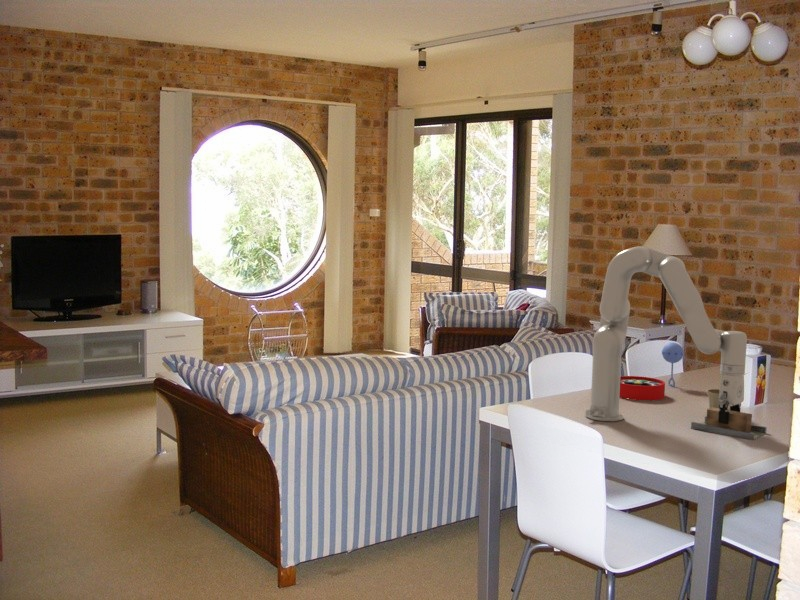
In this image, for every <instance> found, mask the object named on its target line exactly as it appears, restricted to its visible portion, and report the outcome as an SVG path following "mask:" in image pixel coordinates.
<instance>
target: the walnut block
mask: <svg viewBox="0 0 800 600" xmlns="http://www.w3.org/2000/svg"><path fill="white" fill-rule="evenodd" d="M728 412H729V424H722V423H719V422H718V418H719V408H714V407H712V408H710V409H709V408H708V409H706V416H707V420H706V424H708V425H713V426H719V427H724V428H730V429H735V430H740V431H746V432H751V424H752V421H753V419H752V418H753V413H747V412H743V411H740V412H737V411H731V410H729V411H728Z"/></svg>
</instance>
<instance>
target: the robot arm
mask: <svg viewBox="0 0 800 600" xmlns="http://www.w3.org/2000/svg"><path fill="white" fill-rule="evenodd" d="M640 272H641V273H643V274H646V275H649V276H653V277H656V278H659V279H660V280H661V282H662V285H663V286H664V288H665V289H666V291H667V293H668V295H669V297H670V299H671V302H672V303H673V305H674V307H675V308H676V311H677V313H678V314H679V316H680V318H681V320H682V322H683V323H684V325H685V327H686V329H687V331H688V333H689V335H690V336H691V339H692V341H693V343H694V344H695V346H696V348H697V349H698V350H699V352H701V353H702V354H705V355H714V354H716V353H717V352H719V351H720V352H721V353H720V366H719V368H720V369H719V373H720V374H721V376H720V382H719V383H720V384H719V389H720V391H719V418H718V422H719V423H722V424H729V412H728V411H729V408H730V410H731V411H737V412H741V407H742V403H743V402H744V400H745V374H746V371H745V370H746V358H747V357H746V356H747V343H748V342H747V341H748V337H747V334H746V333H745V332H743V331H739V330H721V329H717V328H714V326H713V324H712V322H711V319H710V318H709V316H708V314H707V311H706V309H705V306H704V302H703V300H702V299H703V298H702V297H701V294H700V292H699V291H698V289H697V288H696V286H695V284H694V282H693V280H692V278H691V276H690V275H689V273H688V271H687V269H686V265H685V262H684V261H683V260H682V259H680V258H679V257H676V256H673V255H670V254H667V253H664V252H661V251H658V250H655V249H653V248H650V247H649V248H648V247H646V246H642V245H641V246H640V245H637V246H634V247H629V248H627V249H624V250H623V251H620V252H618V253H617V254H616V255H615V256H614V257H613V258H612V259H611V260H610V261H609V264H608V265H607V268H606V273H605V278H604V282H603V288H602V294H601V300H600V304H599V314H600V320H599V328H598V329H596V331H595V333H594V335H593V339H592V368H591V371H592V372H591V387H590V389H591V392H590V407H589V409H586V410H585V411H584V412H585V417H586V418H587V419H590V420H594V421H600V422H618V421H622V420H623V419H624V415H623V414H622V413H621V412H620V399H621V398H620V379H621V376H622V373H621V372H622V348H623V345H624V344H625V341H626V339H627V337H626V336H627V333H628V332H627V331H628V325H629V318H630V313H631V304H630V303H631V302H630V300H629V292H630V288H631V281H632V277H633V275H635V273H640ZM725 405H727V407H726V406H725ZM730 405H731V406H730Z"/></svg>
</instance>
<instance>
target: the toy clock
mask: <svg viewBox="0 0 800 600" xmlns="http://www.w3.org/2000/svg"><path fill="white" fill-rule="evenodd" d="M665 388H666V382H665V381H664V380H662V379H658V378H653V377H650V376H649V377H647V376H641V375H640V376H637V375H621V379H620V397H623V398H629V399H636V400H635V401H639V400H655V401H661V400H664V399H665V391H666V389H665ZM623 398H622V399H623ZM629 399H628V400H629ZM660 399H661V400H660Z"/></svg>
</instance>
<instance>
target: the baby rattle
mask: <svg viewBox="0 0 800 600" xmlns="http://www.w3.org/2000/svg"><path fill="white" fill-rule="evenodd" d="M662 347H663V348H662V350H661V355H662V358H663V359H664V360H665V361H666V362H668V363H669V364H671V372H670V373H671V375H670V379H669V380H668V383H667V384H668V386H670V387H675V386H676V381H675V379H674V377H673V376H674V375H673V374H674V364H676V363H679V362H680V361H681V360H682V359H683V357H684V355H685V351H684V348H683V347H682V346H681V344H679V343H677V342H674V341H672V342H668V343H666V344H665V345H664V346H662ZM671 381H672V383H671Z"/></svg>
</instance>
